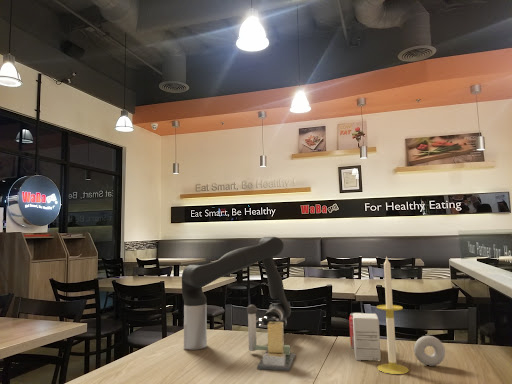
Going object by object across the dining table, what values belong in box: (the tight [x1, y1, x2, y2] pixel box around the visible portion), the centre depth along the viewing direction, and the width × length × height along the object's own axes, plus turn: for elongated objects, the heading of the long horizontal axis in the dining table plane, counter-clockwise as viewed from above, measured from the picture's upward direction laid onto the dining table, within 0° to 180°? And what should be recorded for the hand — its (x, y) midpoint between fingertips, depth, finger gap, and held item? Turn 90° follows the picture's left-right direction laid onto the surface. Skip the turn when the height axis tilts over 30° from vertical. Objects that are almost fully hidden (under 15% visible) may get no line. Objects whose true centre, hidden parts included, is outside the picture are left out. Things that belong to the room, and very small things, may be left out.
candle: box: [375, 255, 410, 375], centre depth 133 cm, size 10×10×38 cm
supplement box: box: [352, 312, 382, 362], centre depth 145 cm, size 9×9×15 cm
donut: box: [413, 335, 446, 367], centre depth 134 cm, size 10×4×10 cm, turn 80°
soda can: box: [348, 312, 354, 349], centre depth 157 cm, size 7×7×13 cm
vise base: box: [256, 351, 296, 372], centre depth 141 cm, size 16×11×4 cm, turn 167°
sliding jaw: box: [246, 304, 291, 355], centre depth 150 cm, size 6×17×17 cm, turn 77°
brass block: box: [267, 322, 285, 354], centre depth 140 cm, size 4×5×13 cm
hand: (266, 326), depth 158 cm, fingers open, 8 cm apart
